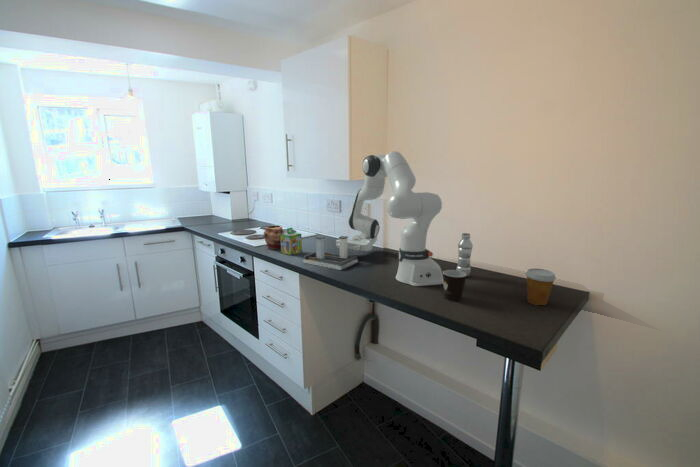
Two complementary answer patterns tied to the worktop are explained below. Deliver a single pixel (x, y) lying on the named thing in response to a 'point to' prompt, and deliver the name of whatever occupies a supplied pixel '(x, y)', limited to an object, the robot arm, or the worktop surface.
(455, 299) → the coffee mug
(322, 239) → the cylinder
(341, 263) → the grey rectangular tray
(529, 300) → the disposable coffee cup
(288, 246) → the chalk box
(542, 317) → the worktop surface
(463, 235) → the plastic bottle
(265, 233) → the decorative planter
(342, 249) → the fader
